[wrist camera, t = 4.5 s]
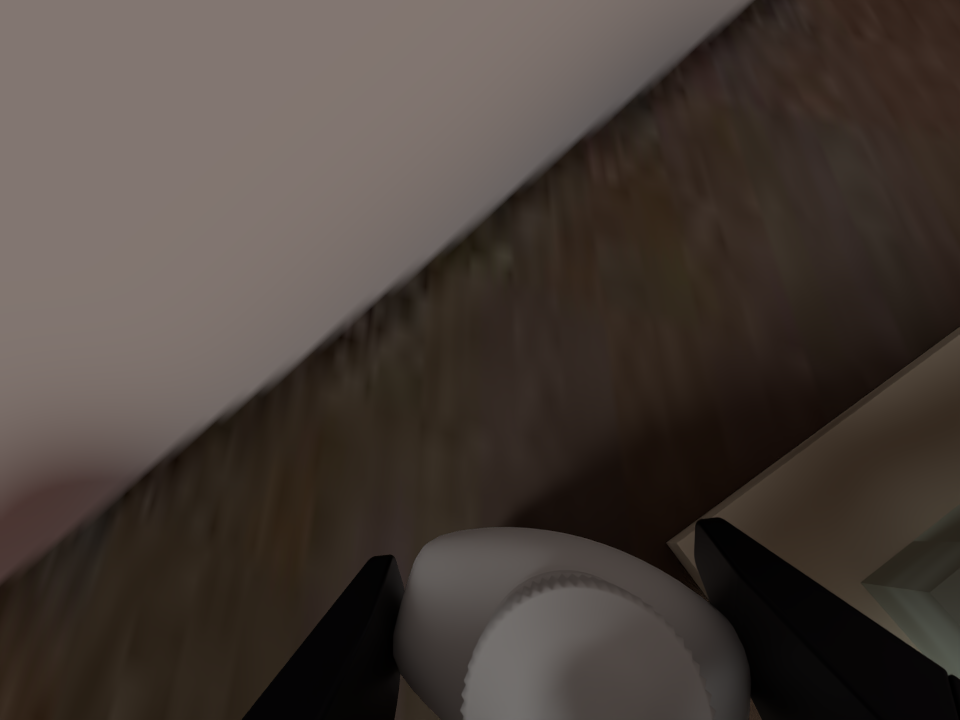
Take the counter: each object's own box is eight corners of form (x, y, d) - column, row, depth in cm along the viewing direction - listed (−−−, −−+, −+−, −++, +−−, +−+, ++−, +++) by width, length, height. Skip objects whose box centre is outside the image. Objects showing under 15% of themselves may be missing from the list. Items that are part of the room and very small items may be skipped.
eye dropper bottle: (528, 479, 16) (520, 319, 5) (673, 615, 14) (1241, 904, 3) (432, 584, 15) (133, 706, 4) (573, 744, 13) (819, 1897, 2)
